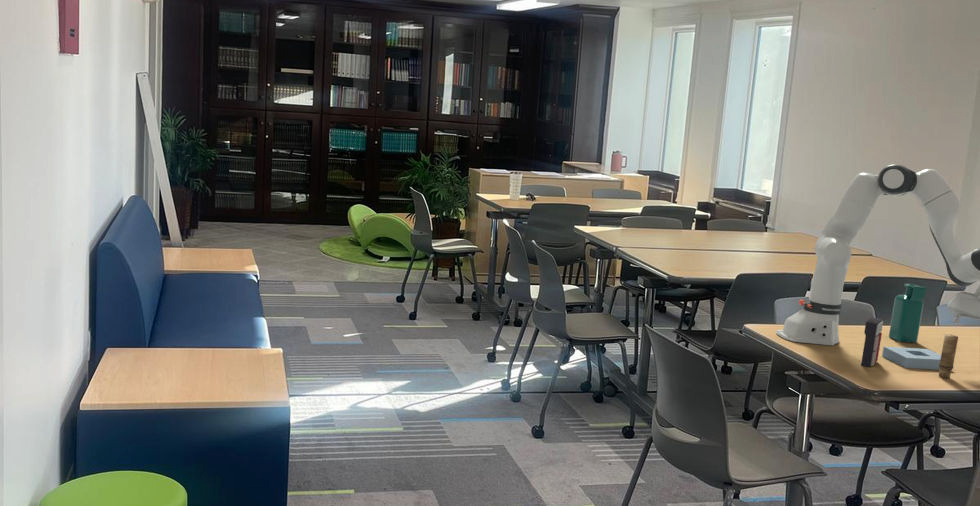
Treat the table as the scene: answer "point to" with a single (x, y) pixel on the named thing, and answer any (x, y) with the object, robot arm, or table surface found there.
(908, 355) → the seat board
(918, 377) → the table surface
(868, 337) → the calculator
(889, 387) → the table surface
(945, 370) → the peg
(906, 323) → the teal bottle
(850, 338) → the table surface
